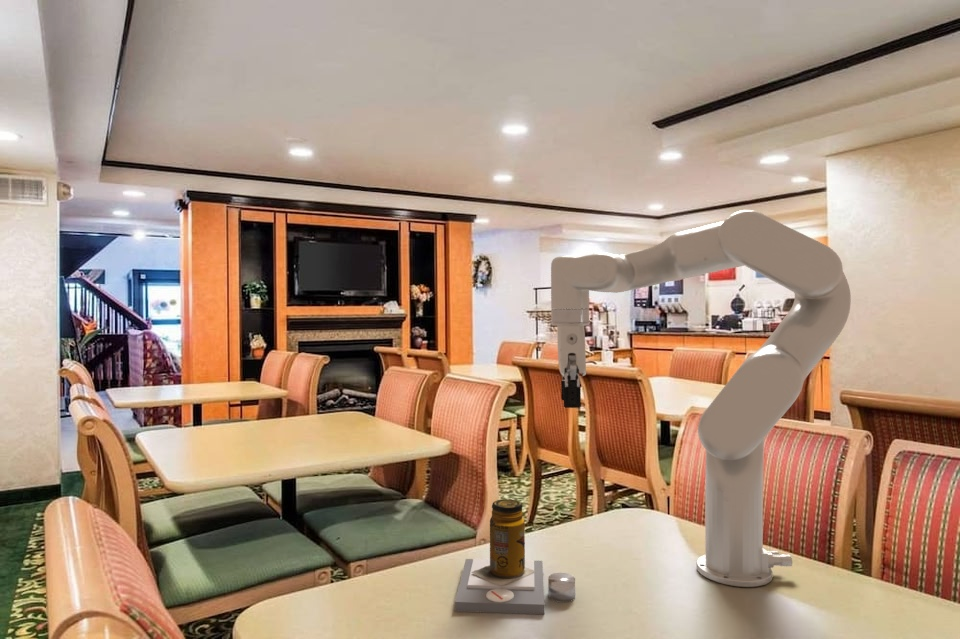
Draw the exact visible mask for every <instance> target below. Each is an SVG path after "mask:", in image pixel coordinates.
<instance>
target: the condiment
mask: <svg viewBox="0 0 960 639" xmlns="http://www.w3.org/2000/svg"><path fill="white" fill-rule="evenodd" d="M491 509H492V510H491V517H490V519H489V559H490V565H489V566H485V567H484V568H481V569H479V570H475V571H473V572H471V573H473V574H475V575H477V576H478V577H481V578H482V579H485V580H487V581H488V582H492V583H494V584H497V585H499V586H501V587H502V586H504V585H505V584H508V583H510V582H513V581H514V580H517V579H520V578H522V577H525V576H527V575H529V574H532V573H533V572H535V571H534V570H532V569H529V568H525V560H526V555H525V553H526V550H525V549H526V548H525V547H526V546H525V544H526V542H525V541H526V540H525V539H526V536H525V534H526V533H525V532H526V531H525V530H526V523H525V518H524V517H523V503H522V502H521V501H519V500H517V499H511V498H502V499H497V500H495V501H493V502H492V505H491Z"/></svg>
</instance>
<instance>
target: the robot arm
mask: <svg viewBox="0 0 960 639" xmlns="http://www.w3.org/2000/svg"><path fill="white" fill-rule="evenodd" d="M744 266H745V267H747V268H749V269H750V270H752V271H754V272H756V273H758V274H759V275H761V276H763V277H765V278H767V279H768V280H771V281H773V282H775V283H777V284H778V285H780V286H782V287H783V288H785V289H787V290H789V291H791V292H793V294H794V300H793V304H792V306H791V307H790V309H789V311H788V312H787V314H786V315H785V316H784V317H783V319H782V320H780V322H779V324H778V326H777V327H776V328H775V329H774V331H773V332H772V333H771V335H770V336H769V337H768V338H767V339H766V341H765V342H763V344H762V345H761V346H760V347H759V348H758V349H757V350H756V351H755V352H753V353H752V354H750V355H748V357H746V359H745V360H744V361H743V362H742V363H741V365H740V366H739V367H738V369H737V370H736V371H735V373H734V374H733V375H732V376H731V378H730V379H729V380H728V382H727V383H726V384H725V385H724V387H722V389H721V390H720V392H719V393H718V394H717V395H716V397H715V398H714V399H713V400H712V401H711V403H710V404H709V405H708V406H707V408H706V409H705V410H704V412H703V413H702V414H701V415H700V418H699V421H698V425H697V433H698V437H699V438H698V439H699V441H700V444H701V445H702V447H703V448H704V450H706V451H705V483H704V484H705V485H704V486H705V488H704V489H705V490H704V491H705V492H704V494H705V499H704V500H705V506H704V507H705V510H704V511H705V515H704V516H705V518H704V519H705V523H704V524H705V527H704V528H705V530H704V531H705V542H704V543H705V546H704V547H705V549H704V550H705V552H704V553H705V554H703V555H701V556H699V557H698V558H697V560H696V570H697V571H698V573H700V574H701V576H703V577H705V578H707V579H708V580H710V581H713V582H715V583H719V584H722V585H728V586H732V587H733V586H734V587H741V588H742V587H743V588H754V587H756V588H757V587H761V586H764V585H768V584H769V583H770V582H772V579H773V573H774V572H773V570H772V569H773V568H774V567H775V566H778V567H793V558H792V556H791V554H779V551H778V550H766V549H765V548H764V547H763V545H764V543H763V540H764V539H763V537H764V535H763V534H764V530H763V527H764V519H763V518H764V517H763V516H764V509H763V508H764V507H763V506H764V505H763V504H764V502H763V501H764V496H763V495H764V494H763V493H764V455H765V454H764V449H765V447H764V446H765V437H766V436H767V435H768V434H769V433H770V431H772V429H773V428H774V427H775V426H776V424H778V422H779V421H780V419H781V418H782V417H783V416H784V415H785V414H786V413H787V411H788V410H790V408H791V407H792V405H793V404H794V403H795V401H797V399H798V397H799V396H800V394H801V392H802V389H803V386H804V382H805V381H806V379H807V378H808V376H809V374H811V372H812V371H813V370H814V368H815V367H816V366H817V364H818V363H819V362H820V361H821V359H822V358H824V356H825V354H826V353H827V352H828V350H829V349H830V348H831V346H832V345H833V344H834V343H835V341H836V340H837V338H838V337H839V335H841V333H842V331H843V329H844V327H845V325H846V323H847V321H848V319H849V314H850V312H851V311H850V310H851V304H852V303H851V300H852V296H851V288H850V284H849V282H848V280H847V278H846V275H845V272H844V268H843V263H842V260H841V258H840V257H839V255H838V253H837V252H836V251H835V250H833V249H832V248H831V247H829V246H828V245H826V244H824V243H822V242H821V241H818V240H816V239H814V238H812V237H809V236H808V235H805V234H804V233H802V232H800V231H798V230H796V229H794V228H792V227H789V226H788V225H785V224H783V223H781V222H779V221H777V220H775V219H773V218H771V217H769V216H768V215H766V214H764V213H762V212H759V211H757V210H752V209H743V210H739V211H736V212H733V213H732V214H730V215H729V216H727V217H726V218H725V219H724V220H722V221H719V222H716V223H711V224H707V225H703V226H700V227H696V228H692V229H691V228H690V229H686V230H683V231H679V232H675V233H673V234H671V235H670V236H668V237H667V238H666V239H665V240H663V241H662V242H660V243H658V244H656V245H653V246H651V247H648V248H644V249H641V250H636V251H632V252H628V253H625V254H624V253H623V254H620V255H619V254H615V253H609V252H596V253H593V254H586V255H581V256H580V255H562V256H561V255H560V256H556V257H554V258H553V259H552V260H551V263H550V296H551V297H550V298H551V300H550V303H551V304H550V308H551V310H550V313H551V314H550V315H551V316H550V318H551V322H550V324H551V326H552V327H553V326H555V327H556V326H557V327H556V328H557V331H556V332H557V336H556V338H557V360H558V369H559V373H560V375H561V382H560V383H561V384H560V386H561V387H560V388H561V389H560V390H561V391H560V392H561V397H560V399H561V400H562V401H563V408H565V409H569V408H570V409H580V408H581V405H582V403H581V401H582V400H581V396H582V394H581V392H582V390H581V388H582V387H581V386H580V374H581V376H582V377H584V376H586V374H587V369H586V364H587V361H586V360H587V359H586V358H587V357H586V334H585V333H586V331H585V326H590V292H591V291H592V292H599V293H614V294H615V293H623V292H628V291H633V290H637V289H641V288H642V289H643V288H647V287H652V286H656V285H659V284H660V285H661V284H664V283H668V282H674V281H675V282H676V281H681V280H685V279H689V278H693V277H697V276H701V275H705V274H710V273H717V272H719V271H724V270H731V269H734V268H741V267H744Z"/></svg>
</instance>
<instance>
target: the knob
mask: <svg viewBox="0 0 960 639" xmlns="http://www.w3.org/2000/svg"><path fill="white" fill-rule="evenodd" d="M547 577H548V578H547V579H548V588H547V589H548V590H547V591H548V594H547V595H548V598H549V599H550V600H551V601H554V602H557V601H558V602H557V603H569V602H572V601H574V600H575V599H576V578H575V576H574V575H572V574H569V573H567V572H566V573H565V572H555V573H552V574H550V575H548V576H547ZM573 599H574V600H573ZM571 600H572V601H571Z"/></svg>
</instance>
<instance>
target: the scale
mask: <svg viewBox="0 0 960 639" xmlns="http://www.w3.org/2000/svg"><path fill="white" fill-rule="evenodd" d="M543 563H544V562H543V560H534V559H525V568H529V569H532V570H534V571H535V572H533V573H532V574H529V575H527V576H525V577H522V578H520V579H517V580H514V581H513V582H510V583H508V584H505V585H504V586H502V587H501V586H499V585H497V584H494V583H492V582H488V581H487V580H485V579H482V578H481V577H478V576H477V575H475V574H473V573H471V572H473V571H475V570H479V569H481V568H484V567H485V566H489V565H490V558H465V560H464V564H463V565H464V566H463V568H462V573H461V577H460V580H459V584H458V588H457V590H456V591H457V592H456V595H455V598H454V612H460V613H461V612H462V613H463V612H466V613H468V612H470V613H493V614H495V613H497V614H498V613H499V614H526V615H531V614H532V615H545V592H544V590H545V589H544V587H545V586H544V567H543Z"/></svg>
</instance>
